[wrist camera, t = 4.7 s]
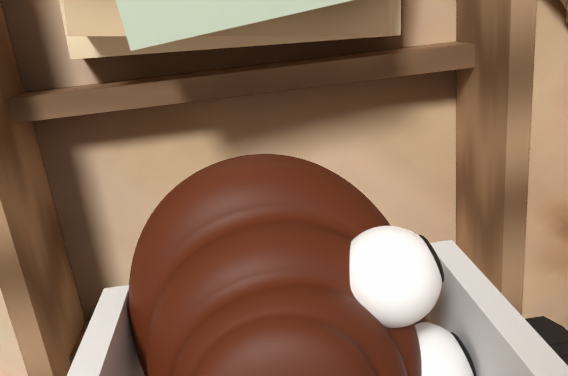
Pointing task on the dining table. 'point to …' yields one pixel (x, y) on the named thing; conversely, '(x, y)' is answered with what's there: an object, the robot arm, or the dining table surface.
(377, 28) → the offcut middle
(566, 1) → the tablet
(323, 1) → the offcut top
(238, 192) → the poop emoji
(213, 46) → the tan flat rectangular block
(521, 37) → the tray
